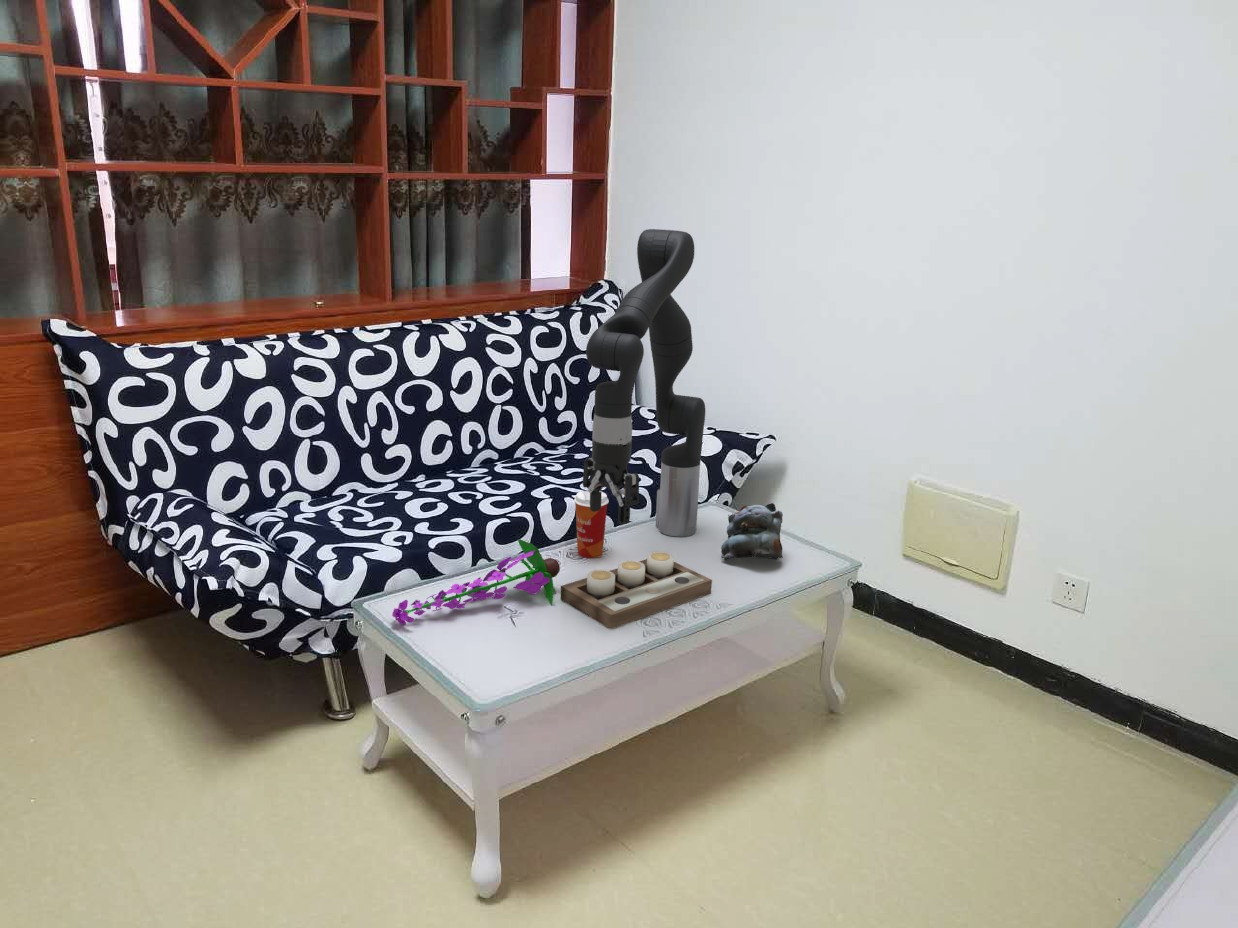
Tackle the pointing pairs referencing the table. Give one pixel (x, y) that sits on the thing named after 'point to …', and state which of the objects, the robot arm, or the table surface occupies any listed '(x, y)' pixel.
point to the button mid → (631, 572)
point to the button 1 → (600, 582)
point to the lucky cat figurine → (754, 533)
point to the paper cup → (590, 525)
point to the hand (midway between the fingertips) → (609, 516)
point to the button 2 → (660, 563)
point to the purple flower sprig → (532, 584)
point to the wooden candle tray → (637, 596)
